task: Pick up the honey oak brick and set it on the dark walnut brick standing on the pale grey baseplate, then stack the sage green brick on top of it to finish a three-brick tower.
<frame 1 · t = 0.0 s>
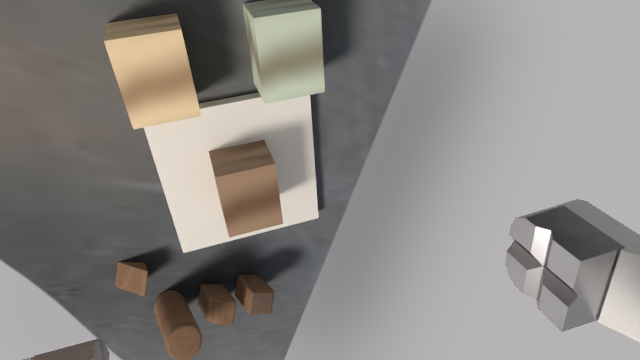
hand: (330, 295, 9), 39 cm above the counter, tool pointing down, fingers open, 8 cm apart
wooden block set: (190, 282, 61), on the counter
oak brick: (153, 60, 43), on the counter
walnut base brick: (242, 175, 52), resting on baseplate
sage brick: (278, 40, 46), on the counter
baseplate: (240, 170, 53), on the counter
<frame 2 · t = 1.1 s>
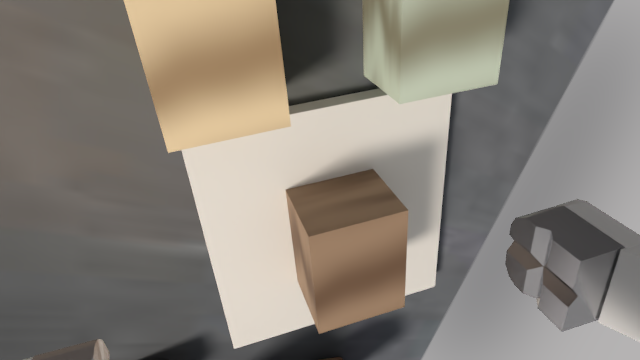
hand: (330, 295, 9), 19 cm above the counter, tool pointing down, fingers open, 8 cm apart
oak brick: (202, 31, 24), on the counter
walnut base brick: (333, 227, 32), resting on baseplate
baseplate: (327, 217, 33), on the counter
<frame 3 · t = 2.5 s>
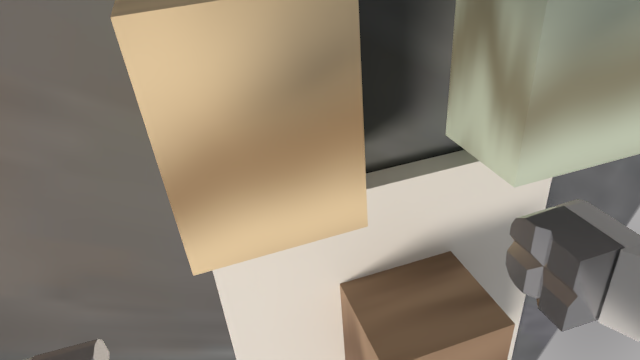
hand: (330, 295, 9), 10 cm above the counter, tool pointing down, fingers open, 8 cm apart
oak brick: (237, 86, 17), on the counter
walnut base brick: (395, 322, 25), resting on baseplate
sage brick: (511, 36, 20), on the counter
baseplate: (386, 306, 26), on the counter
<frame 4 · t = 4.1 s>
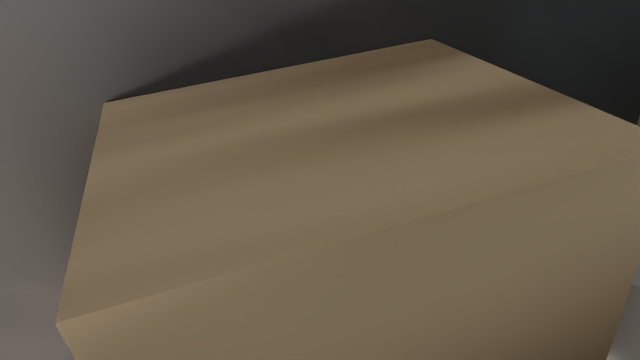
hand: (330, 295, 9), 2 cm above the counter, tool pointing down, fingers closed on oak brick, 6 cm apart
oak brick: (306, 243, 10), on the counter, touching gripper
when the fingers open (9 cm above the counter, at t = 10.0 s): oak brick drops 1 cm, resting on walnut base brick.
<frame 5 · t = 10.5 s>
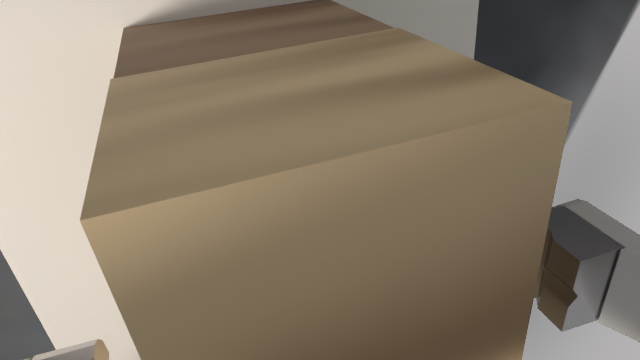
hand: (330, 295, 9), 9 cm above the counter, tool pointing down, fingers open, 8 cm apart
oak brick: (289, 211, 12), point 6 cm above the counter, touching walnut base brick
walnut base brick: (251, 135, 16), resting on baseplate
baseplate: (245, 122, 17), on the counter
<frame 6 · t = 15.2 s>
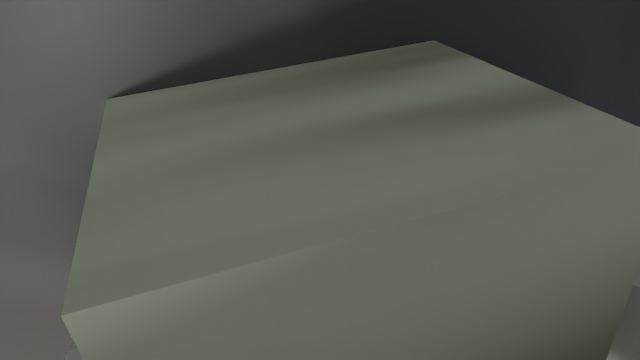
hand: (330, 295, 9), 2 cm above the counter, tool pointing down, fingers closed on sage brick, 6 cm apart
sage brick: (306, 243, 10), on the counter, touching gripper
when the fingers open (14 cm above the counter, at t = 20.9 s): sage brick drops 1 cm, resting on oak brick.
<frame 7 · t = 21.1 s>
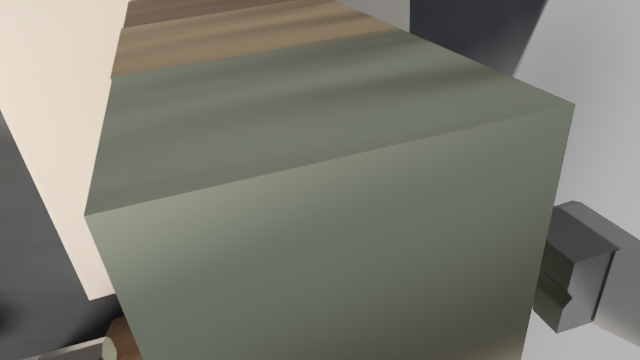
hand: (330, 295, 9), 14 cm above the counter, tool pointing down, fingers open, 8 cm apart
wooden block set: (88, 324, 25), on the counter
oak brick: (251, 134, 16), point 6 cm above the counter, touching sage brick, walnut base brick
walnut base brick: (229, 90, 20), resting on baseplate
sage brick: (289, 211, 12), point 11 cm above the counter, touching oak brick
baseplate: (225, 82, 21), on the counter
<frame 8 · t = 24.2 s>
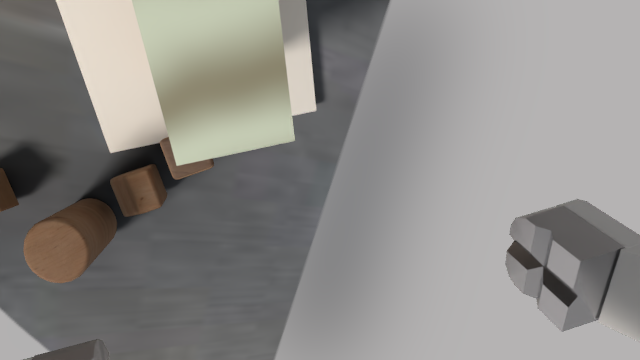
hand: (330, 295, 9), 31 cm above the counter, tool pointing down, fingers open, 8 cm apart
wooden block set: (104, 178, 39), on the counter
sage brick: (210, 49, 25), point 11 cm above the counter, touching oak brick
baseplate: (192, 15, 35), on the counter
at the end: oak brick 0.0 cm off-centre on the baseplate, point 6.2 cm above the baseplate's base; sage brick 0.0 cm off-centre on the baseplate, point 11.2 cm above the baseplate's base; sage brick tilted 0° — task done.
